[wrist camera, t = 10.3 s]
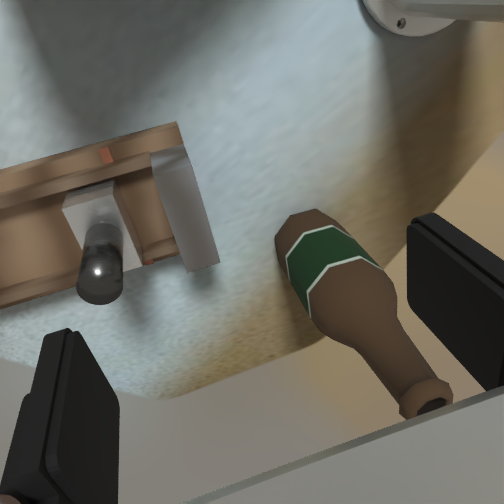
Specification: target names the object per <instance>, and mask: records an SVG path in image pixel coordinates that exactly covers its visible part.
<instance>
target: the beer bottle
mask: <svg viewBox="0 0 504 504" xmlns="http://www.w3.org/2000/svg"><path fill="white" fill-rule="evenodd" d="M275 242H276V249H277V255H278V260H279V262H280V264H281V267H282V269H283V270H284V272H285V274H286V276H287V277H288V279H289V281H290V283H291V284H292V286H293V288H294V290H295V291H296V293H297V295H298V297H299V298H300V300H301V302H302V304H303V305H304V307H305V309H306V311H307V312H308V314H309V316H310V318H311V319H312V321H313V322H314V323H315V325H316V326H317V328H318V329H319V330H320V331H321V332H322V333H324V334H325V335H327V336H328V337H330V338H331V339H333V340H335V341H338V342H340V343H342V344H344V345H347V346H349V347H351V348H354V349H355V350H356V351H357V352H358V353H359V354H360V355H361V356H362V357H363V358H364V360H365V361H366V362H367V363H368V365H369V366H370V367H371V369H372V370H373V371H374V373H375V374H376V375H377V377H378V378H379V379H380V381H381V382H382V383H383V384H384V386H385V387H386V388H387V390H388V391H389V392H390V394H391V395H392V396H393V397H394V399H395V400H396V401H397V403H398V404H399V414H400V415H401V416H403V417H404V418H405V419H406V420H408V419H411V418H414V417H417V416H419V415H422V414H425V413H428V412H430V411H433V410H436V409H439V408H442V407H444V406H447V405H450V404H452V402H453V393H452V390H451V388H450V386H449V383H447V382H445V381H443V380H440V379H438V377H437V376H436V374H435V373H434V372H433V370H432V369H431V367H430V366H429V364H428V363H427V362H426V360H425V359H424V357H423V356H422V355H421V353H420V352H419V351H418V349H417V348H416V346H415V345H414V344H413V342H412V341H411V339H410V338H409V336H408V335H407V334H406V332H405V331H404V330H403V327H402V326H401V323H400V321H399V320H398V318H397V295H396V291H395V288H394V284H393V282H392V281H391V280H390V278H389V277H388V276H387V274H386V273H385V272H384V270H383V269H382V268H381V267H380V266H379V265H378V264H377V263H376V262H375V261H374V260H373V259H372V258H371V257H370V256H369V255H368V253H367V252H366V251H365V250H364V249H363V248H362V247H361V246H360V245H359V244H358V243H357V242H356V241H355V240H354V239H353V237H352V236H351V235H350V234H349V233H348V232H347V231H346V230H345V229H344V228H343V227H342V226H341V225H340V224H339V223H337V222H336V221H335V220H334V219H332V218H330V217H329V216H327V215H325V214H324V213H322V212H321V211H319V210H317V209H312V210H309V211H305V212H301V213H298V214H294V215H290V216H289V218H288V219H287V220H286V222H285V223H284V225H283V226H282V227H281V229H280V230H279V231H278V233H277V234H276V235H275Z"/></svg>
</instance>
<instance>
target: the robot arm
mask: <svg viewBox="0 0 504 504" xmlns="http://www.w3.org/2000/svg"><path fill="white" fill-rule="evenodd" d="M363 3H364V5H365V7H366V8H367V10H368V12H369V13H370V15H371V16H372V17H373V18H374V19H375V21H376V22H377V23H378V24H379V25H381V26H382V27H384V28H385V29H387V30H388V31H390V32H393V33H396V34H399V35H404V36H410V37H414V36H425V35H429V34H433V33H436V32H438V31H440V30H442V29H444V28H446V27H448V26H449V25H450V24H452V23H453V22H454V21H456V20H471V21H487V22H502V23H504V0H363ZM397 22H398V25H397ZM407 300H408V303H409V306H410V308H411V309H412V310H413V312H414V313H415V314H416V315H417V316H418V317H419V318H420V319H421V320H422V321H423V322H424V324H425V325H426V326H427V327H428V328H429V329H430V330H431V331H432V332H433V333H434V335H435V336H436V337H437V338H438V339H439V340H440V341H441V342H442V343H443V344H444V345H445V347H446V348H447V349H448V350H449V351H450V352H451V353H452V354H453V355H454V357H455V358H456V359H457V360H458V361H459V362H460V363H461V364H462V365H463V366H464V367H465V369H466V370H467V371H468V372H469V373H470V374H471V375H472V376H473V377H474V378H475V380H476V381H477V382H478V383H479V384H480V385H481V386H482V387H483V388H484V389H485V390H486V392H483V393H481V394H478V395H475V396H472V397H469V398H467V399H464V400H461V401H458V402H456V403H453V404H450V405H447V406H444V407H442V408H439V409H436V410H433V411H430V412H428V413H425V414H422V415H419V416H417V417H414V418H411V419H408V420H405V421H403V422H400V423H397V424H394V425H392V426H389V427H386V428H384V429H381V430H378V431H375V432H373V433H370V434H367V435H364V436H362V437H359V438H357V439H353V440H351V441H348V442H345V443H342V444H340V445H337V446H334V447H332V448H329V449H326V450H323V451H321V452H318V453H315V454H313V455H310V456H307V457H304V458H302V459H299V460H296V461H294V462H291V463H288V464H285V465H283V466H280V467H277V468H275V469H272V470H269V471H267V472H264V473H261V474H258V475H256V476H253V477H250V478H248V479H245V480H242V481H240V482H237V483H234V484H231V485H229V486H226V487H223V488H221V489H218V490H216V491H213V492H210V493H208V494H205V495H202V496H199V497H197V498H194V499H191V500H189V501H186V502H183V503H181V504H504V261H503V260H502V259H500V258H499V257H498V256H496V255H495V254H493V253H492V252H490V251H489V250H488V249H486V248H484V247H483V246H482V245H480V244H479V243H478V242H476V241H475V240H473V239H472V238H470V237H469V236H468V235H466V234H465V233H463V232H462V231H460V230H459V229H457V228H456V227H455V226H453V225H452V224H450V223H449V222H447V221H446V220H445V219H443V218H442V217H440V216H439V215H437V214H436V213H429V214H426V215H423V216H420V217H416V218H414V219H413V220H412V222H411V225H409V226H408V227H407ZM119 415H120V407H119V402H118V399H117V396H116V394H115V392H114V391H113V389H112V387H111V385H110V384H109V382H108V380H107V378H106V377H105V375H104V373H103V372H102V370H101V368H100V366H99V365H98V363H97V361H96V359H95V358H94V356H93V354H92V352H91V351H90V349H89V347H88V346H87V344H86V342H85V340H84V339H83V337H82V335H81V334H80V332H79V331H74V332H72V331H71V330H70V329H69V328H66V329H63V330H59V331H56V332H53V333H50V334H47V335H45V337H44V339H43V343H42V347H41V351H40V355H39V359H38V363H37V367H36V372H35V376H34V380H33V384H32V388H31V392H30V393H29V394H27V395H26V396H25V397H24V399H23V401H22V404H21V408H20V412H19V415H18V419H17V423H16V427H15V431H14V434H13V438H12V443H11V446H10V450H9V454H8V457H7V461H6V465H5V469H4V473H3V477H2V480H1V484H0V504H118V467H119V418H120V416H119Z"/></svg>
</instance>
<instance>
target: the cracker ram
mask: <svg viewBox="0 0 504 504" xmlns="http://www.w3.org/2000/svg"><path fill="white" fill-rule="evenodd" d="M62 211H63V213H64V215H65V217H66V219H67V221H68V223H69V225H70V227H71V229H72V231H73V233H74V235H75V237H76V239H77V241H78V243H79V245H80V247H81V249H82V256H81V262H80V268H79V273H78V279H77V284H76V289H77V292H78V294H79V296H80V297H81V298H82V299H83V300H84V301H86V302H88V303H91V304H95V305H105V304H109V303H111V302H113V301H115V300H116V299H117V298H118V297H119V296H120V294H121V292H122V289H123V272H125V271H129V270H132V269H135V268H138V267H142V266H143V265H142V247H141V242H140V240H139V237H138V235H137V232H136V230H135V227H134V225H133V223H132V220H131V218H130V215H129V213H128V210H127V208H126V205H125V203H124V201H123V198H122V196H121V193H120V191H119V188H118V186H117V183H116V181H115V178H114V177H111V178H108V179H104V180H101V181H97V182H94V183H90V184H87V185H83V186H80V187H76V188H73V189H69V190H67V194H66V197H65V200H64V203H63V206H62Z"/></svg>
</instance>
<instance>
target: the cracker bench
mask: <svg viewBox="0 0 504 504" xmlns="http://www.w3.org/2000/svg"><path fill="white" fill-rule="evenodd" d="M111 177H114V178H115V181H116V183H117V186H118V188H119V191H120V193H121V196H122V198H123V201H124V203H125V205H126V208H127V210H128V213H129V215H130V218H131V220H132V223H133V225H134V227H135V230H136V232H137V235H138V237H139V240H140V242H141V247H142V265H149V264H153V263H154V262H156V261H159V260H162V259H165V258H169V257H172V256H175V255H178V254H181V257H182V260H183V263H184V265H185V268H186V271H187V273H188V272H191V271H195V270H198V269H201V268H204V267H207V266H211V265H214V264H217V263H220V259H219V256H218V252H217V249H216V245H215V242H214V239H213V235H212V232H211V229H210V225H209V222H208V218H207V215H206V212H205V208H204V205H203V202H202V198H201V195H200V191H199V188H198V185H197V181H196V178H195V175H194V171H193V168H192V165H191V162H190V160H189V157H188V154H187V152H186V149H185V147H184V144H183V141H182V137H181V134H180V131H179V127H178V125H177V122H176V121H175V122H172V123H168V124H165V125H161V126H157V127H154V128H150V129H146V130H143V131H139V132H135V133H132V134H128V135H125V136H121V137H117V138H114V139H110V140H106V141H103V142H99V143H96V144H92V145H88V146H85V147H81V148H77V149H74V150H70V151H67V152H63V153H59V154H56V155H52V156H48V157H45V158H41V159H37V160H34V161H30V162H27V163H23V164H19V165H16V166H12V167H8V168H5V169H1V170H0V309H3V308H6V307H9V306H12V305H16V304H19V303H22V302H25V301H29V300H32V299H35V298H38V297H42V296H45V295H48V294H51V293H55V292H58V291H61V290H64V289H68V288H71V287H74V286H76V284H77V279H78V273H79V268H80V262H81V256H82V249H81V247H80V245H79V243H78V241H77V239H76V237H75V235H74V233H73V231H72V229H71V227H70V225H69V223H68V221H67V219H66V217H65V215H64V213H63V211H62V206H63V203H64V200H65V197H66V194H67V190H69V189H73V188H76V187H80V186H83V185H87V184H90V183H94V182H97V181H101V180H104V179H108V178H111Z"/></svg>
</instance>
